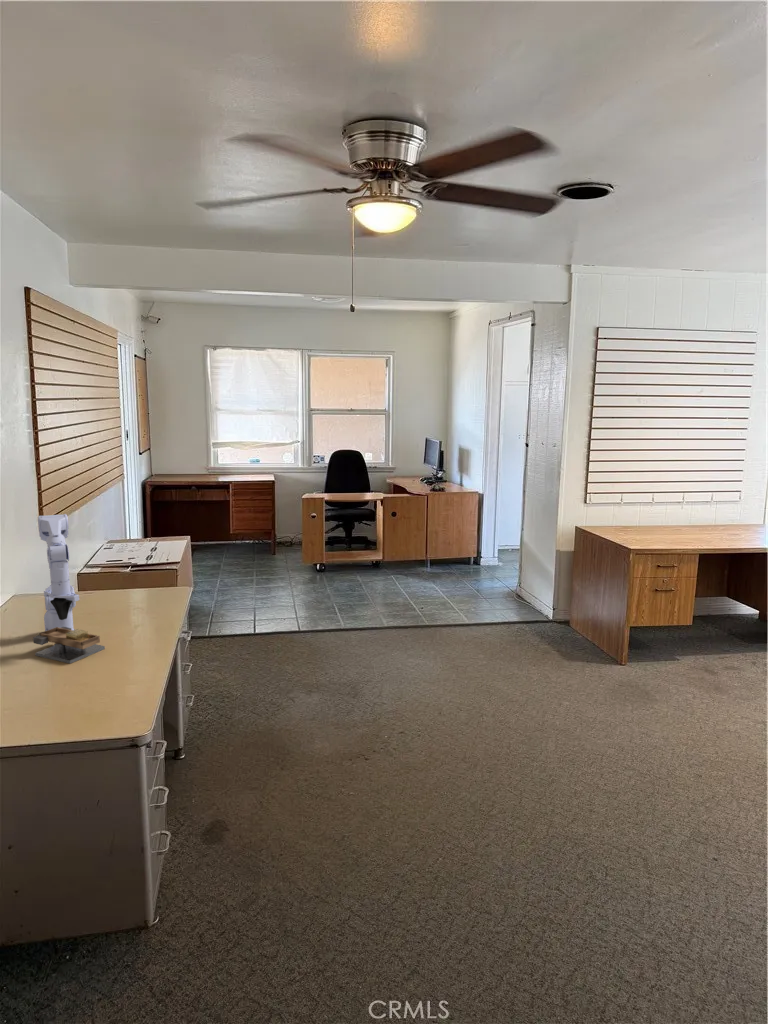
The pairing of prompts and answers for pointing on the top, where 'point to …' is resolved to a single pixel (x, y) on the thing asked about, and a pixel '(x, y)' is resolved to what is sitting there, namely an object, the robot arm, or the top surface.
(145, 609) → the top surface
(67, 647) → the pivot stand
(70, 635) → the yellow block
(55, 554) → the robot arm
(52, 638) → the brown wooden tray
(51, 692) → the top surface
